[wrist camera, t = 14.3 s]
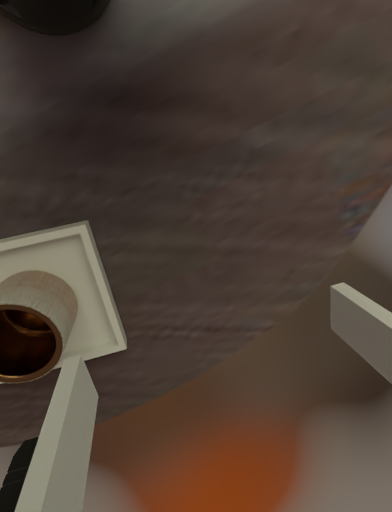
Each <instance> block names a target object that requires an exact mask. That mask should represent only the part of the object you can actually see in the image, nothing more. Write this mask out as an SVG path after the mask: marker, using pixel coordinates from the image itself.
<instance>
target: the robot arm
mask: <svg viewBox="0 0 392 512" xmlns="http://www.w3.org/2000/svg"><path fill="white" fill-rule="evenodd" d="M109 1H110V0H0V12H2V13H3V14H4V15H5V16H7V17H8V18H9V19H11V20H12V21H14V22H16V23H17V24H19V25H21V26H23V27H25V28H27V29H30V30H32V31H35V32H39V33H43V34H49V35H65V34H71V33H74V32H77V31H80V30H82V29H84V28H86V27H88V26H89V25H91V24H92V23H93V22H94V21H95V20H97V19H98V18H99V16H100V15H101V14H102V13H103V11H104V10H105V9H106V7H107V5H108V3H109ZM331 329H332V330H333V331H334V332H335V333H336V334H338V335H339V336H340V337H341V338H342V339H343V340H344V341H345V342H346V343H347V344H348V345H350V346H351V347H352V348H353V349H354V350H355V351H356V352H357V353H358V354H359V355H361V356H362V357H363V358H364V359H365V360H366V361H367V362H368V363H369V364H370V365H372V366H373V367H374V368H375V369H376V370H377V371H378V372H379V373H380V374H381V375H382V376H384V377H385V378H386V379H387V380H388V381H389V382H390V383H391V384H392V313H391V312H389V311H387V310H386V309H384V308H383V307H381V306H380V305H378V304H377V303H375V302H373V301H372V300H370V299H369V298H367V297H366V296H364V295H362V294H361V293H359V292H358V291H356V290H355V289H353V288H352V287H350V286H348V285H347V284H345V283H340V284H336V285H332V286H331ZM97 402H98V394H97V392H96V389H95V387H94V384H93V382H92V380H91V377H90V375H89V372H88V370H87V367H86V365H85V362H84V360H83V358H82V355H81V354H79V355H76V356H72V357H68V358H65V359H64V362H63V365H62V368H61V371H60V375H59V378H58V381H57V384H56V387H55V390H54V393H53V396H52V399H51V402H50V405H49V408H48V411H47V414H46V417H45V420H44V423H43V426H42V429H41V432H40V435H39V437H36V438H33V439H30V440H26V441H24V442H23V444H22V445H21V446H20V448H19V449H18V451H17V452H16V453H15V455H14V456H13V459H12V461H11V464H10V466H9V469H8V474H7V475H6V477H5V479H4V482H3V487H2V488H1V489H0V512H82V508H83V501H84V494H85V487H86V479H87V472H88V465H89V458H90V452H91V445H92V437H93V431H94V423H95V416H96V409H97Z"/></svg>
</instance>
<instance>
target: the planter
mask: <svg viewBox="0 0 392 512" xmlns="http://www.w3.org/2000/svg"><path fill="white" fill-rule="evenodd" d="M77 312H78V302H77V298H76V295H75V293H74V291H73V289H72V288H71V287H70V286H69V285H68V284H67V283H66V282H65V281H64V280H63V279H61V278H60V277H58V276H56V275H54V274H51V273H48V272H45V271H38V270H28V271H22V272H18V273H16V274H13V275H11V276H10V277H8V278H6V279H5V280H3V281H2V282H1V283H0V382H2V383H24V382H29V381H33V380H36V379H38V378H41V377H43V376H44V375H46V374H48V373H49V372H50V371H52V370H53V369H54V368H55V367H56V365H57V364H58V363H59V361H60V359H61V357H62V355H63V352H64V349H65V347H66V344H67V341H68V338H69V336H70V333H71V330H72V328H73V325H74V322H75V320H76V317H77Z"/></svg>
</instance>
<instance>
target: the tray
mask: <svg viewBox="0 0 392 512" xmlns="http://www.w3.org/2000/svg"><path fill="white" fill-rule="evenodd" d="M28 270H38V271H45V272H48V273H51V274H54V275H56V276H58V277H60V278H61V279H63V280H64V281H65V282H66V283H67V284H68V285H69V286H70V287H71V288H72V289H73V291H74V293H75V295H76V298H77V302H78V312H77V317H76V320H75V322H74V325H73V328H72V330H71V333H70V336H69V338H68V341H67V344H66V347H65V349H64V352H63V355H62V357H61V359H60V361H59V363H58V364H57V365H56V367H55V368H54V369H56V368H60V367H62V365H63V362H64V359H65V358H68V357H72V356H76V355H79V354H81V355H82V358H83V360H84V361H85V360H89V359H92V358H96V357H100V356H103V355H107V354H110V353H114V352H118V351H121V350H125V349H127V338H126V335H125V332H124V329H123V326H122V323H121V320H120V316H119V313H118V310H117V307H116V304H115V301H114V298H113V295H112V292H111V289H110V286H109V283H108V280H107V277H106V274H105V271H104V268H103V265H102V262H101V259H100V256H99V252H98V249H97V246H96V243H95V240H94V237H93V234H92V231H91V228H90V225H89V222H88V220H86V221H81V222H77V223H72V224H68V225H63V226H59V227H54V228H49V229H45V230H40V231H36V232H31V233H27V234H22V235H18V236H13V237H8V238H4V239H0V283H1V282H2V281H3V280H5V279H6V278H8V277H10V276H11V275H13V274H16V273H18V272H22V271H28ZM0 384H2V382H0Z"/></svg>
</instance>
